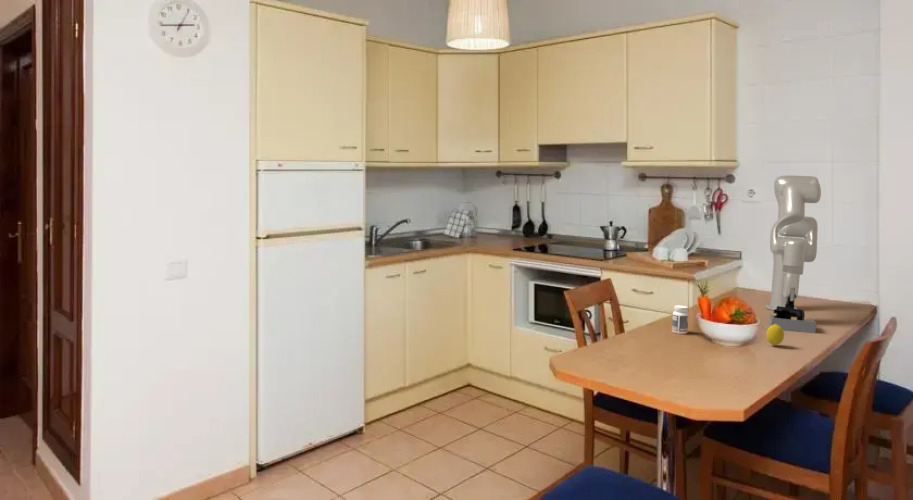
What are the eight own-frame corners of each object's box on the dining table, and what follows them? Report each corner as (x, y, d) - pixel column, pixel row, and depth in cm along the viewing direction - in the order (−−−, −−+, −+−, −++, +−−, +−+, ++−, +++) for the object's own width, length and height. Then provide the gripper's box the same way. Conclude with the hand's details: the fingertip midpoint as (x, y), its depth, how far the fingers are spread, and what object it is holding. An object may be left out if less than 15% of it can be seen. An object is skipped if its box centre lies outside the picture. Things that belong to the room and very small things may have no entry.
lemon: (762, 344, 242) (764, 321, 241) (777, 344, 243) (779, 322, 242) (770, 348, 237) (772, 325, 236) (786, 348, 237) (788, 325, 236)
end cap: (803, 325, 275) (805, 309, 274) (797, 328, 270) (799, 311, 269) (778, 321, 282) (779, 305, 281) (771, 323, 277) (772, 307, 276)
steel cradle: (769, 323, 276) (770, 311, 275) (811, 327, 271) (812, 314, 270) (771, 328, 267) (772, 315, 266) (815, 333, 262) (816, 319, 261)
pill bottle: (687, 331, 258) (689, 305, 257) (687, 335, 253) (689, 308, 251) (671, 330, 260) (673, 304, 259) (671, 333, 254) (672, 307, 253)
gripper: (781, 266, 286) (777, 309, 288) (784, 271, 272) (780, 316, 274) (800, 268, 284) (796, 311, 286) (805, 273, 270) (801, 318, 272)
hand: (789, 314), depth 280 cm, fingers closed
